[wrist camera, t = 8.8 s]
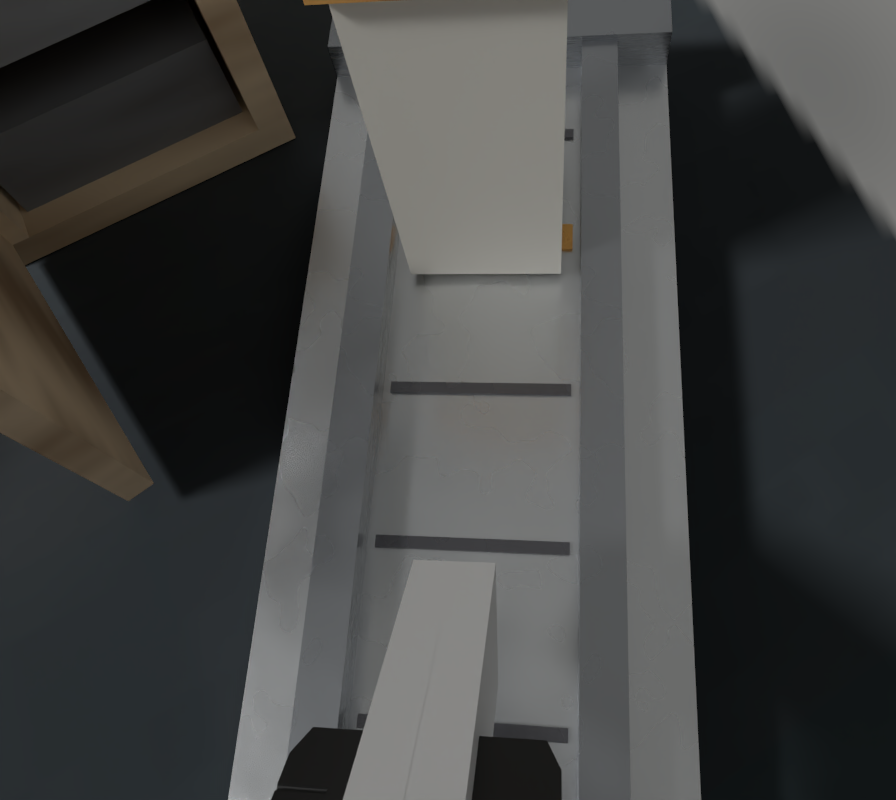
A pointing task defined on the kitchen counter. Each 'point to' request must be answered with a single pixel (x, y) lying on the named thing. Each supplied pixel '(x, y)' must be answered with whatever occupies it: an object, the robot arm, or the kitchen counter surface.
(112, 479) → the wooden cabinet
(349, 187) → the fader track
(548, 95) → the fader knob
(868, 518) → the kitchen counter surface
